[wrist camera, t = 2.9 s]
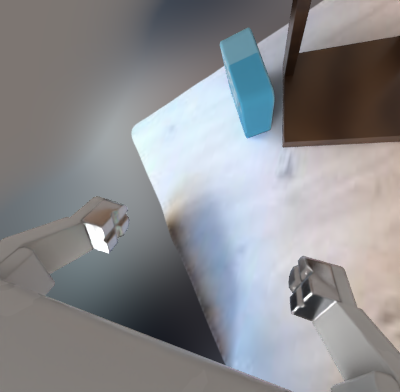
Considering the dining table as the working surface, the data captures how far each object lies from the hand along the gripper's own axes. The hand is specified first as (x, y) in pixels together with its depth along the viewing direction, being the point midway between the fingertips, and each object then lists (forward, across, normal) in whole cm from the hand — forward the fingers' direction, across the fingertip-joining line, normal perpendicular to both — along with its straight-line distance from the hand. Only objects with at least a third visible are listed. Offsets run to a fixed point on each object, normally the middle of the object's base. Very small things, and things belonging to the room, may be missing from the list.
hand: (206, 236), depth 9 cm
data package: (+36, 0, +3) cm, 37 cm away
